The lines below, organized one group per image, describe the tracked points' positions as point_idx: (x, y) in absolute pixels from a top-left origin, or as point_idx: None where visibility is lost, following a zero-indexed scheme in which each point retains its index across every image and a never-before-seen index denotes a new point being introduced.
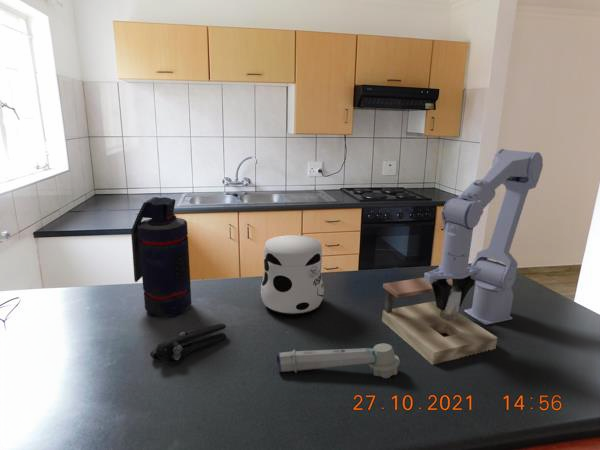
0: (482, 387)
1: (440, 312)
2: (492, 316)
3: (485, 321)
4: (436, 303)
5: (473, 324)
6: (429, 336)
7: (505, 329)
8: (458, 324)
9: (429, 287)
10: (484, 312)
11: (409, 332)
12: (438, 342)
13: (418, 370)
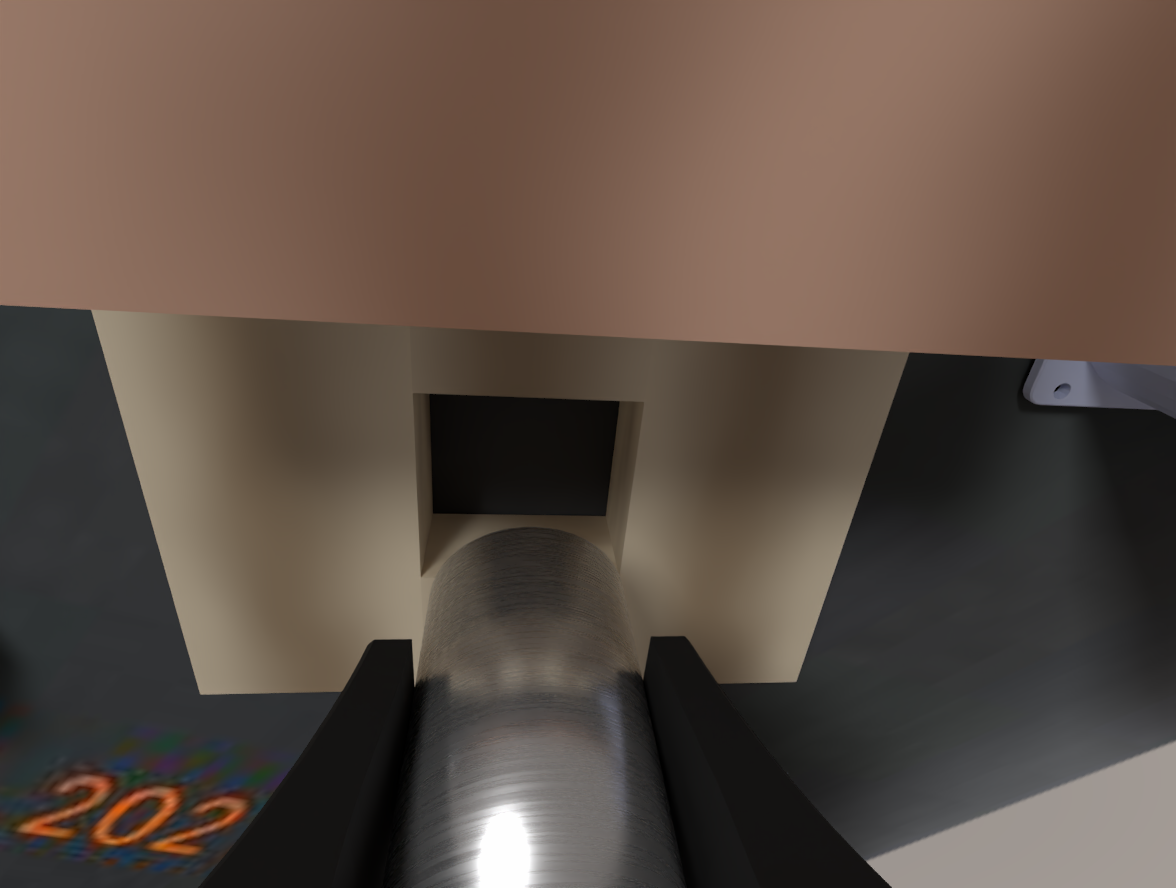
0: None
1: (428, 618)
2: (1151, 405)
3: (1064, 377)
4: (353, 681)
5: (825, 512)
6: (297, 535)
7: (1069, 481)
8: (708, 472)
9: (609, 264)
10: (1147, 373)
11: (124, 423)
12: (319, 618)
13: (108, 633)
